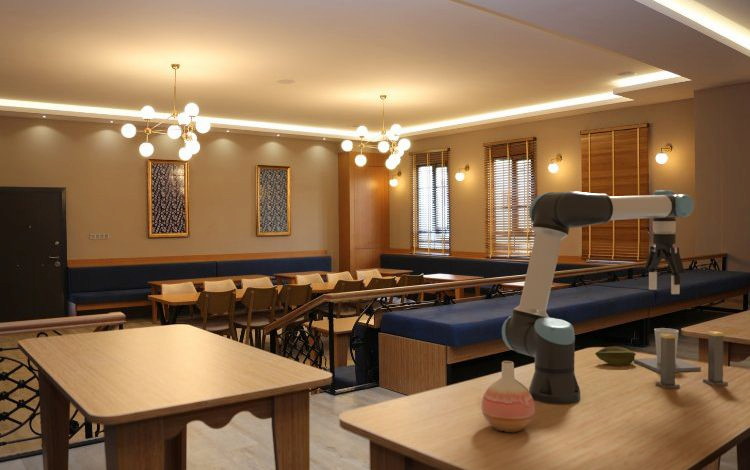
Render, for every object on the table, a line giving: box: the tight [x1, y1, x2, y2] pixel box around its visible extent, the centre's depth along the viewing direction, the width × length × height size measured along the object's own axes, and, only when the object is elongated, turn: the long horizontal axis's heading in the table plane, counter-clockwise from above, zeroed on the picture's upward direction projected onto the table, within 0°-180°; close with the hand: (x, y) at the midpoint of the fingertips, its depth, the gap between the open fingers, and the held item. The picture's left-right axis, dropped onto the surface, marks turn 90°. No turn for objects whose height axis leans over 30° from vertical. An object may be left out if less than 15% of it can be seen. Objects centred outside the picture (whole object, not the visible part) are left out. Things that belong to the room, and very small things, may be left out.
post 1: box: [655, 333, 681, 390], centre depth 202 cm, size 5×5×17 cm
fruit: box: [594, 345, 637, 367], centre depth 232 cm, size 11×12×7 cm
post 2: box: [702, 330, 729, 387], centre depth 204 cm, size 5×5×17 cm
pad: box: [633, 357, 702, 374], centre depth 228 cm, size 16×16×1 cm
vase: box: [481, 360, 536, 433], centre depth 164 cm, size 14×14×18 cm
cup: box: [653, 327, 680, 364], centre depth 228 cm, size 8×8×12 cm
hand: (663, 291), depth 227 cm, fingers open, 13 cm apart
